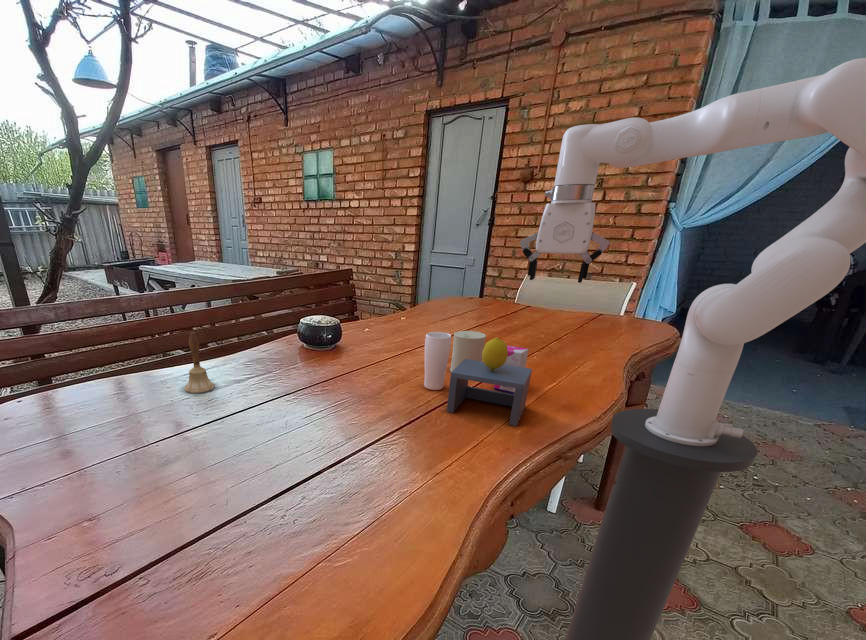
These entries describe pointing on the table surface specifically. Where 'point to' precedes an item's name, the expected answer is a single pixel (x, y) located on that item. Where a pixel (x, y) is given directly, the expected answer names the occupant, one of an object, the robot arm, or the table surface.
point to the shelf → (499, 376)
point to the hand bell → (197, 370)
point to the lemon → (494, 353)
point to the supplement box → (514, 364)
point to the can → (467, 347)
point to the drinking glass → (436, 359)
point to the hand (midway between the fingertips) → (555, 280)
